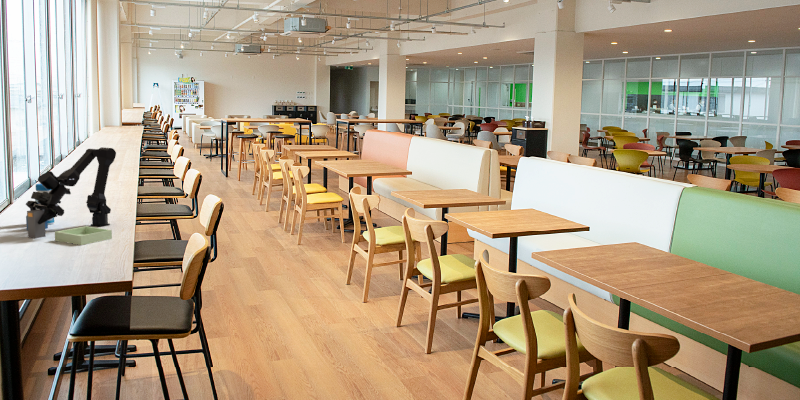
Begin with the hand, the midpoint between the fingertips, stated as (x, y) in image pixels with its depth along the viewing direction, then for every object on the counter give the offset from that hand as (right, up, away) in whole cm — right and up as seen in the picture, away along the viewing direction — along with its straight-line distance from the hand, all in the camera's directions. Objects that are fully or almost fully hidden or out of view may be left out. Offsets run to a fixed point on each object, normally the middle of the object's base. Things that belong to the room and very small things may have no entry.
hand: (33, 223), depth 268 cm
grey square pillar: (0, -6, +2) cm, 7 cm away
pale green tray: (+22, -8, +1) cm, 24 cm away
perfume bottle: (-10, -4, +19) cm, 22 cm away
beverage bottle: (-13, -2, +31) cm, 34 cm away
